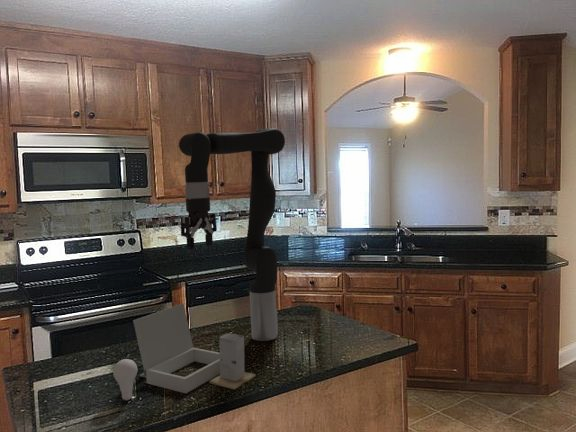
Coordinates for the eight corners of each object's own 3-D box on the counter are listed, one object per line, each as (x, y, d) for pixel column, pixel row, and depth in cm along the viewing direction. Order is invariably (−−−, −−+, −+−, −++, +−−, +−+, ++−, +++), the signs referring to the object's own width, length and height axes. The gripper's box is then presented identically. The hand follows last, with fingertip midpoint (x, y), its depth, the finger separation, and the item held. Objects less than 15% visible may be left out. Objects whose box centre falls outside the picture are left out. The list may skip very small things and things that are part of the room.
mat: (231, 370, 147) (230, 368, 147) (255, 376, 142) (255, 374, 142) (209, 383, 138) (209, 381, 138) (234, 389, 134) (234, 387, 134)
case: (194, 359, 157) (193, 347, 157) (231, 367, 149) (230, 354, 149) (146, 383, 140) (145, 369, 140) (185, 393, 132) (185, 379, 132)
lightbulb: (142, 394, 133) (139, 355, 132) (135, 404, 127) (133, 363, 126) (119, 395, 133) (116, 356, 132) (112, 406, 127) (109, 364, 126)
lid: (193, 347, 157) (190, 347, 158) (183, 303, 157) (180, 303, 158) (145, 369, 140) (142, 370, 141) (134, 320, 140) (131, 320, 141)
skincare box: (219, 378, 140) (217, 337, 139) (229, 372, 144) (227, 332, 143) (237, 382, 137) (235, 339, 136) (246, 376, 141) (244, 335, 140)
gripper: (203, 195, 162) (206, 244, 164) (172, 198, 150) (175, 250, 151) (221, 195, 158) (223, 245, 160) (191, 197, 146) (194, 251, 148)
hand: (200, 247), depth 156 cm, fingers open, 8 cm apart
